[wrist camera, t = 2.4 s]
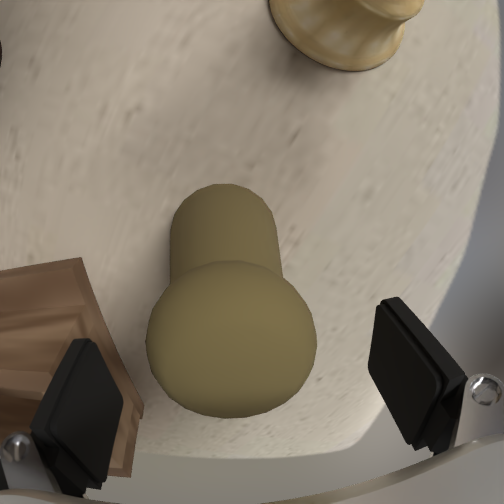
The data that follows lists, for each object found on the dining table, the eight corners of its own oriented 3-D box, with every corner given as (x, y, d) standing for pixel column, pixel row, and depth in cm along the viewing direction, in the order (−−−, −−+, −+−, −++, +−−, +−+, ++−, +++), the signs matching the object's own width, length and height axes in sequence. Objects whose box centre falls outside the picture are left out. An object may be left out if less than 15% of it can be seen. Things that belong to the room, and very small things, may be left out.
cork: (247, 164, 16) (298, 241, 6) (292, 255, 19) (364, 398, 9) (150, 216, 17) (76, 348, 7) (203, 298, 19) (200, 457, 9)
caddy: (-64, 282, 16) (-109, 327, 9) (81, 257, 17) (25, 330, 10) (0, 395, 22) (-24, 446, 15) (144, 405, 23) (133, 480, 16)
